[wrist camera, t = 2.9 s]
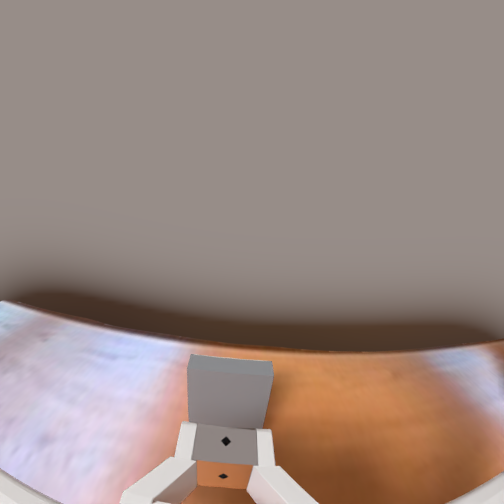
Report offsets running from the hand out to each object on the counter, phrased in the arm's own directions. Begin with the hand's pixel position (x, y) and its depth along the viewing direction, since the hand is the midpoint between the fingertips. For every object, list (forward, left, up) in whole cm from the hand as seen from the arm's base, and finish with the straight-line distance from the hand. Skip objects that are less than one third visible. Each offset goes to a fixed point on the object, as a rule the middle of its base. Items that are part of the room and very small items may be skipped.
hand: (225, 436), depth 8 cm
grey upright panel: (0, -13, -18) cm, 22 cm away
